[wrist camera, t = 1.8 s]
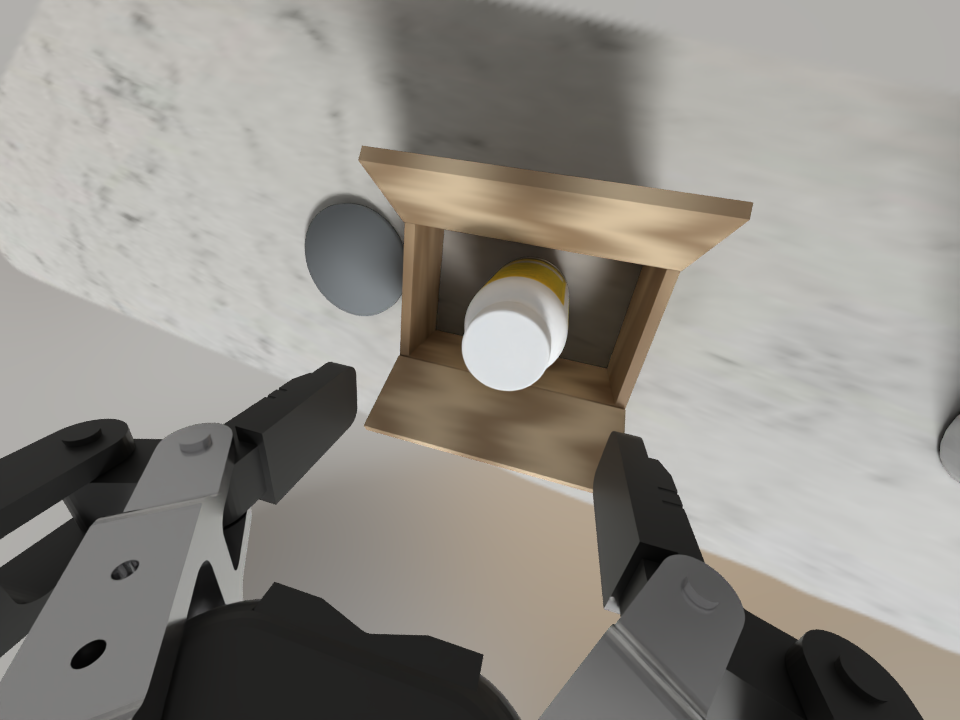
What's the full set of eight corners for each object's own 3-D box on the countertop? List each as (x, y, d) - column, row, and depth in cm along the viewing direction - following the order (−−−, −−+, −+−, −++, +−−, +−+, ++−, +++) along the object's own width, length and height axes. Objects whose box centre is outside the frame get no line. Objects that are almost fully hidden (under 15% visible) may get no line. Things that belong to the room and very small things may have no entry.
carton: (676, 201, 19) (757, 202, 11) (602, 405, 26) (618, 504, 17) (440, 165, 22) (358, 144, 13) (425, 362, 28) (363, 432, 20)
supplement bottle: (481, 267, 24) (430, 305, 15) (561, 246, 22) (555, 277, 13) (501, 339, 25) (465, 410, 17) (575, 325, 24) (578, 397, 15)
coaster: (410, 213, 23) (406, 213, 23) (405, 323, 27) (402, 325, 26) (305, 195, 24) (299, 195, 24) (314, 302, 28) (309, 304, 27)
